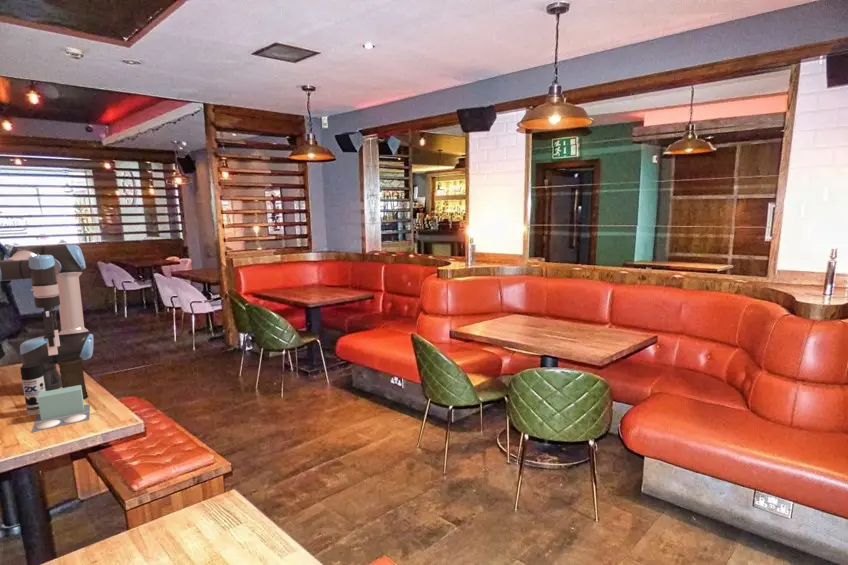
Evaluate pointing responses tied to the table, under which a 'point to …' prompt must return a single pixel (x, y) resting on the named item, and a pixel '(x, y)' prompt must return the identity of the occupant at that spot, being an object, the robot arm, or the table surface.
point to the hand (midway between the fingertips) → (54, 350)
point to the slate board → (61, 420)
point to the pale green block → (60, 402)
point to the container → (72, 373)
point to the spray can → (32, 386)
